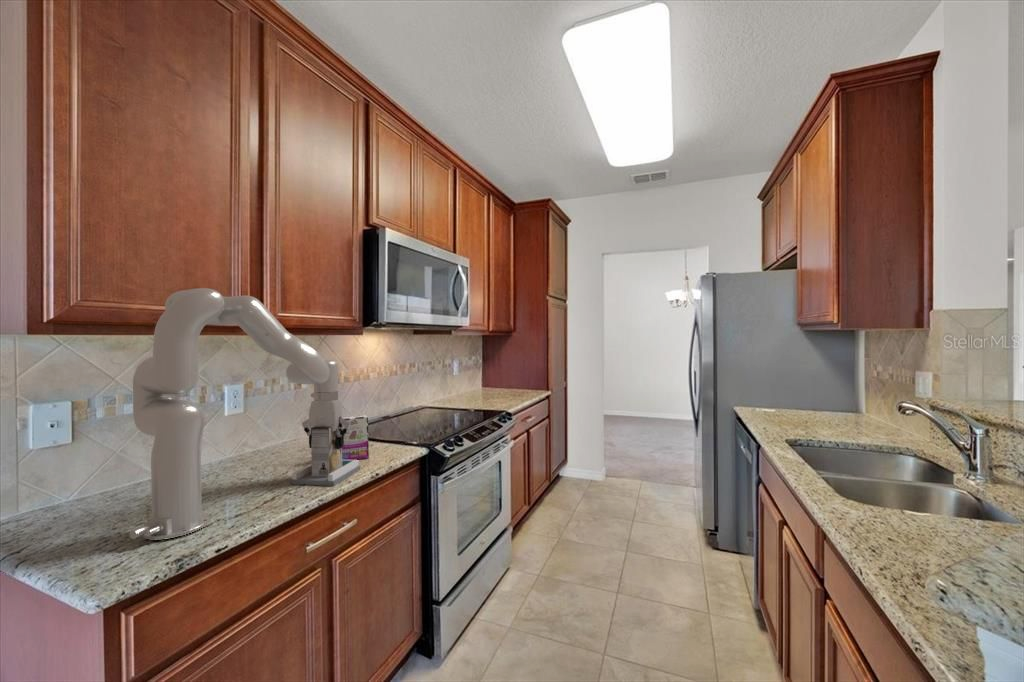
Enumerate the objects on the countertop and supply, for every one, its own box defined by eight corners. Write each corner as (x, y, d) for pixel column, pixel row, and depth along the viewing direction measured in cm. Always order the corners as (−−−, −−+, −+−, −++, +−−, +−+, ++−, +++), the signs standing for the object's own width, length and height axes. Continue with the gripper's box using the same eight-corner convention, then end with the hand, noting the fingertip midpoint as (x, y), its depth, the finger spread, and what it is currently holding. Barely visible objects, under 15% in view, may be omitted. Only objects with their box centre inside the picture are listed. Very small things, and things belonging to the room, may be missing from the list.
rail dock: (334, 486, 128) (333, 475, 128) (290, 483, 131) (290, 473, 131) (360, 469, 144) (360, 459, 144) (321, 468, 146) (321, 458, 146)
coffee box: (325, 467, 142) (324, 421, 142) (343, 468, 142) (342, 422, 142) (310, 476, 133) (310, 427, 133) (330, 477, 132) (329, 427, 132)
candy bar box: (367, 455, 162) (367, 414, 162) (369, 458, 158) (368, 416, 158) (337, 459, 157) (336, 416, 157) (337, 462, 153) (337, 419, 153)
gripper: (295, 398, 135) (295, 449, 135) (343, 398, 132) (344, 451, 132) (309, 395, 142) (309, 444, 142) (355, 395, 140) (356, 445, 140)
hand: (326, 447), depth 137 cm, fingers open, 9 cm apart
